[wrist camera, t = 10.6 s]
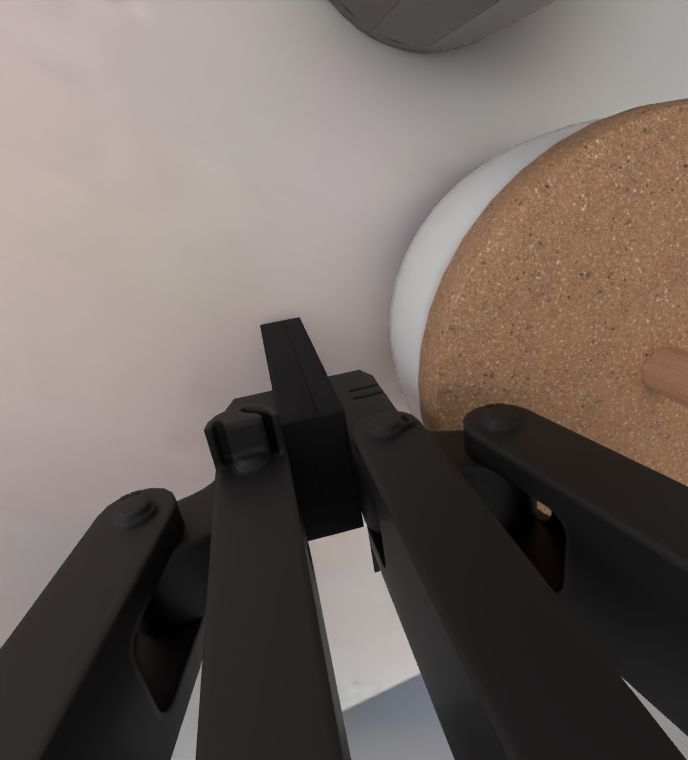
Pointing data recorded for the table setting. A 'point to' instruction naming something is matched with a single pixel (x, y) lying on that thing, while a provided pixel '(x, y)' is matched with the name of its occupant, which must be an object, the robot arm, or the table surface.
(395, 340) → the trinket box
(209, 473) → the table surface
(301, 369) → the robot arm
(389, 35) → the pen cup
